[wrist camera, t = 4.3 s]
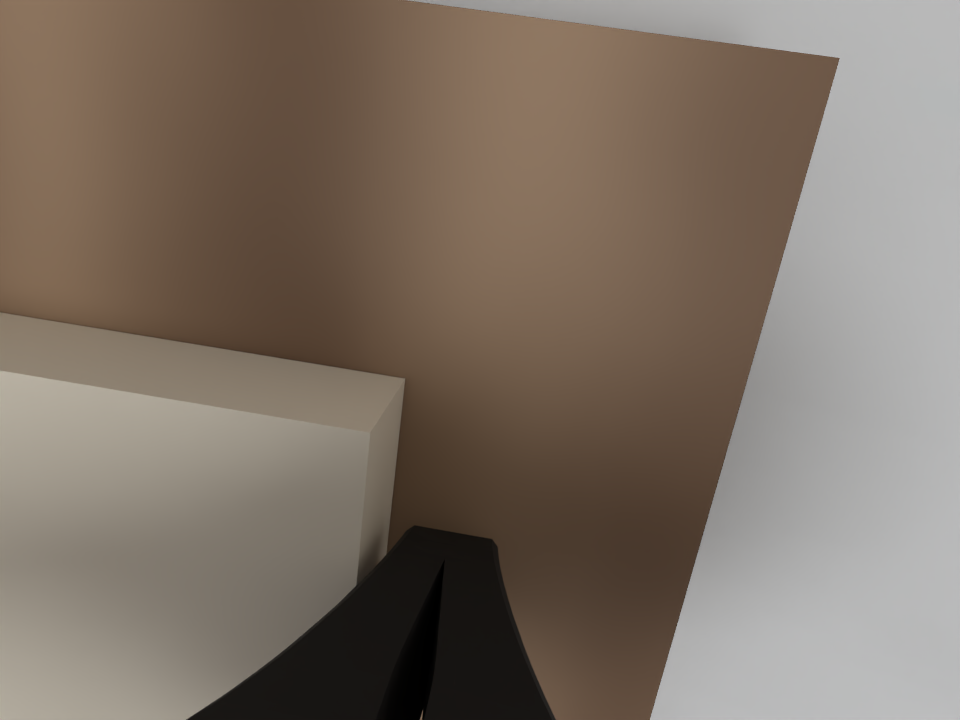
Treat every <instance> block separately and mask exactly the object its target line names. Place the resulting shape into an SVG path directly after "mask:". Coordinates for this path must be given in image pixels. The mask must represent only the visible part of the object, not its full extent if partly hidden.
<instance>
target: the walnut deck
mask: <svg viewBox="0 0 960 720" xmlns="http://www.w3.org/2000/svg"><path fill="white" fill-rule="evenodd" d="M838 62H839V58H835V57H827V56H820V55H812V54H805V53H797V52H790V51H782V50H775V49H767V48H759V47H752V46H744V45H737V44H729V43H722V42H714V41H707V40H699V39H692V38H684V37H677V36H669V35H662V34H654V33H647V32H639V31H632V30H624V29H617V28H609V27H601V26H594V25H586V24H579V23H571V22H564V21H556V20H549V19H541V18H534V17H526V16H519V15H511V14H504V13H496V12H489V11H481V10H474V9H466V8H459V7H451V6H443V5H436V4H428V3H421V2H413V1H406V0H0V312H1V313H7V314H13V315H19V316H25V317H31V318H37V319H43V320H50V321H56V322H62V323H68V324H74V325H80V326H86V327H92V328H99V329H105V330H111V331H117V332H123V333H129V334H135V335H141V336H148V337H154V338H160V339H166V340H172V341H178V342H184V343H190V344H196V345H203V346H209V347H215V348H221V349H227V350H233V351H239V352H245V353H252V354H258V355H264V356H270V357H276V358H282V359H288V360H294V361H300V362H307V363H313V364H319V365H325V366H331V367H337V368H343V369H349V370H356V371H362V372H368V373H374V374H380V375H386V376H392V377H398V378H405V386H404V395H403V404H402V414H401V423H400V432H399V442H398V451H397V460H396V469H395V479H394V488H393V497H392V507H391V516H390V525H389V535H388V544H387V553H388V552H389V551H390V550H391V549H392V548H393V546H394V545H395V544H396V543H397V542H398V540H399V539H400V538H401V537H402V535H403V534H404V533H405V532H406V530H408V529H409V528H411V527H413V526H414V525H416V526H422V527H427V528H433V529H438V530H444V531H450V532H455V533H461V534H467V535H472V536H478V537H484V538H489V539H493V541H494V542H495V544H496V545H497V546H498V555H499V563H500V568H501V573H502V577H503V582H504V585H505V589H506V593H507V597H508V600H509V603H510V607H511V610H512V613H513V616H514V619H515V622H516V625H517V627H518V630H519V633H520V636H521V639H522V642H523V645H524V647H525V650H526V652H527V655H528V657H529V660H530V663H531V665H532V668H533V670H534V672H535V675H536V677H537V679H538V681H539V684H540V686H541V688H542V691H543V693H544V695H545V698H546V700H547V702H548V704H549V706H550V708H551V710H552V713H553V715H554V717H555V719H556V720H650V717H651V713H652V710H653V706H654V703H655V699H656V696H657V692H658V689H659V685H660V682H661V678H662V675H663V671H664V668H665V664H666V661H667V657H668V654H669V650H670V647H671V643H672V640H673V636H674V633H675V630H676V626H677V623H678V619H679V616H680V612H681V609H682V605H683V602H684V598H685V595H686V591H687V588H688V584H689V581H690V577H691V574H692V570H693V567H694V563H695V560H696V556H697V553H698V549H699V546H700V542H701V539H702V535H703V532H704V529H705V525H706V522H707V518H708V515H709V511H710V508H711V504H712V501H713V497H714V494H715V490H716V487H717V483H718V480H719V476H720V473H721V469H722V466H723V462H724V459H725V455H726V452H727V448H728V445H729V441H730V438H731V435H732V431H733V428H734V424H735V421H736V417H737V414H738V410H739V407H740V403H741V400H742V396H743V393H744V389H745V386H746V382H747V379H748V375H749V372H750V368H751V365H752V361H753V358H754V354H755V351H756V347H757V344H758V340H759V337H760V334H761V330H762V327H763V323H764V320H765V316H766V313H767V309H768V306H769V302H770V299H771V295H772V292H773V288H774V285H775V281H776V278H777V274H778V271H779V267H780V264H781V260H782V257H783V253H784V250H785V246H786V243H787V240H788V236H789V233H790V229H791V226H792V222H793V219H794V215H795V212H796V208H797V205H798V201H799V198H800V194H801V191H802V187H803V184H804V180H805V177H806V173H807V170H808V166H809V163H810V159H811V156H812V152H813V149H814V145H815V142H816V139H817V135H818V132H819V128H820V125H821V121H822V118H823V114H824V111H825V107H826V104H827V100H828V97H829V93H830V90H831V86H832V83H833V79H834V76H835V72H836V69H837V65H838ZM387 553H386V554H387ZM422 715H423V711H422V714H421V718H420V720H422Z"/></svg>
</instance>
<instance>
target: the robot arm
mask: <svg viewBox="0 0 960 720" xmlns="http://www.w3.org/2000/svg"><path fill="white" fill-rule="evenodd" d="M422 711H423V715H422V720H556V719H555V717H554V715H553V713H552V710H551V708H550V706H549V704H548V702H547V700H546V698H545V695H544V693H543V691H542V688H541V686H540V684H539V681H538V679H537V677H536V675H535V672H534V670H533V668H532V665H531V663H530V660H529V657H528V655H527V652H526V650H525V647H524V645H523V642H522V639H521V636H520V633H519V630H518V627H517V625H516V622H515V619H514V616H513V613H512V610H511V607H510V603H509V600H508V597H507V593H506V589H505V585H504V582H503V577H502V573H501V568H500V563H499V555H498V546H497V545H496V544H495V542H494V541H493V539H489V538H484V537H478V536H472V535H467V534H461V533H455V532H450V531H444V530H438V529H433V528H427V527H422V526H416V525H414V526H413V527H411V528H409V529H408V530H406V532H405V533H404V534H403V535H402V537H401V538H400V539H399V540H398V542H397V543H396V544H395V545H394V546H393V548H392V549H391V550H390V551H389V552H388V553H387V554H386V555H385V557H384V558H383V559H382V560H381V561H380V562H379V563H378V564H377V565H376V566H375V567H374V568H373V569H372V571H371V572H370V573H369V574H368V575H367V576H366V577H365V578H364V579H363V580H362V581H361V582H360V583H359V584H358V585H356V586H355V587H354V588H353V589H352V590H351V591H350V592H349V593H348V594H347V595H346V596H345V597H344V598H343V599H342V600H341V601H340V602H339V603H338V604H337V605H336V606H335V607H334V608H333V609H332V610H330V611H329V612H328V613H327V614H326V615H325V616H323V617H322V618H321V619H320V620H319V621H318V622H317V623H315V624H314V625H313V626H312V627H311V628H310V629H308V630H307V631H306V632H305V633H304V634H303V635H301V636H300V637H299V638H298V639H297V640H296V641H295V642H293V643H292V644H291V645H290V646H288V647H287V648H286V649H285V650H283V651H282V652H281V653H280V654H278V655H277V656H276V657H275V658H273V659H272V660H271V661H270V662H268V663H267V664H266V665H264V666H263V667H262V668H260V669H259V670H258V671H256V672H255V673H254V674H252V675H251V676H249V677H248V678H247V679H245V680H244V681H242V682H241V683H240V684H238V685H237V686H236V687H234V688H233V689H231V690H230V691H229V692H227V693H226V694H224V695H223V696H221V697H220V698H218V699H217V700H215V701H214V702H212V703H211V704H209V705H208V706H206V707H205V708H203V709H202V710H200V711H199V712H197V713H195V714H194V715H192V716H191V717H189V718H188V719H186V720H420V718H421V714H422Z"/></svg>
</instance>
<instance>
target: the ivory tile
mask: <svg viewBox="0 0 960 720" xmlns="http://www.w3.org/2000/svg"><path fill="white" fill-rule="evenodd" d="M404 386H405V378H398V377H392V376H386V375H380V374H374V373H368V372H362V371H356V370H349V369H343V368H337V367H331V366H325V365H319V364H313V363H307V362H300V361H294V360H288V359H282V358H276V357H270V356H264V355H258V354H252V353H245V352H239V351H233V350H227V349H221V348H215V347H209V346H203V345H196V344H190V343H184V342H178V341H172V340H166V339H160V338H154V337H148V336H141V335H135V334H129V333H123V332H117V331H111V330H105V329H99V328H92V327H86V326H80V325H74V324H68V323H62V322H56V321H50V320H43V319H37V318H31V317H25V316H19V315H13V314H7V313H1V312H0V720H186V719H188V718H189V717H191V716H192V715H194V714H195V713H197V712H199V711H200V710H202V709H203V708H205V707H206V706H208V705H209V704H211V703H212V702H214V701H215V700H217V699H218V698H220V697H221V696H223V695H224V694H226V693H227V692H229V691H230V690H231V689H233V688H234V687H236V686H237V685H238V684H240V683H241V682H242V681H244V680H245V679H247V678H248V677H249V676H251V675H252V674H254V673H255V672H256V671H258V670H259V669H260V668H262V667H263V666H264V665H266V664H267V663H268V662H270V661H271V660H272V659H273V658H275V657H276V656H277V655H278V654H280V653H281V652H282V651H283V650H285V649H286V648H287V647H288V646H290V645H291V644H292V643H293V642H295V641H296V640H297V639H298V638H299V637H300V636H301V635H303V634H304V633H305V632H306V631H307V630H308V629H310V628H311V627H312V626H313V625H314V624H315V623H317V622H318V621H319V620H320V619H321V618H322V617H323V616H325V615H326V614H327V613H328V612H329V611H330V610H332V609H333V608H334V607H335V606H336V605H337V604H338V603H339V602H340V601H341V600H342V599H343V598H344V597H345V596H346V595H347V594H348V593H349V592H350V591H351V590H352V589H353V588H354V587H355V586H356V585H358V584H359V583H360V582H361V581H362V580H363V579H364V578H365V577H366V576H367V575H368V574H369V573H370V572H371V571H372V569H373V568H374V567H375V566H376V565H377V564H378V563H379V562H380V561H381V560H382V559H383V558H384V557H385V555H386V553H387V544H388V535H389V525H390V516H391V507H392V497H393V488H394V479H395V469H396V460H397V451H398V442H399V432H400V423H401V414H402V404H403V395H404Z"/></svg>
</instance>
